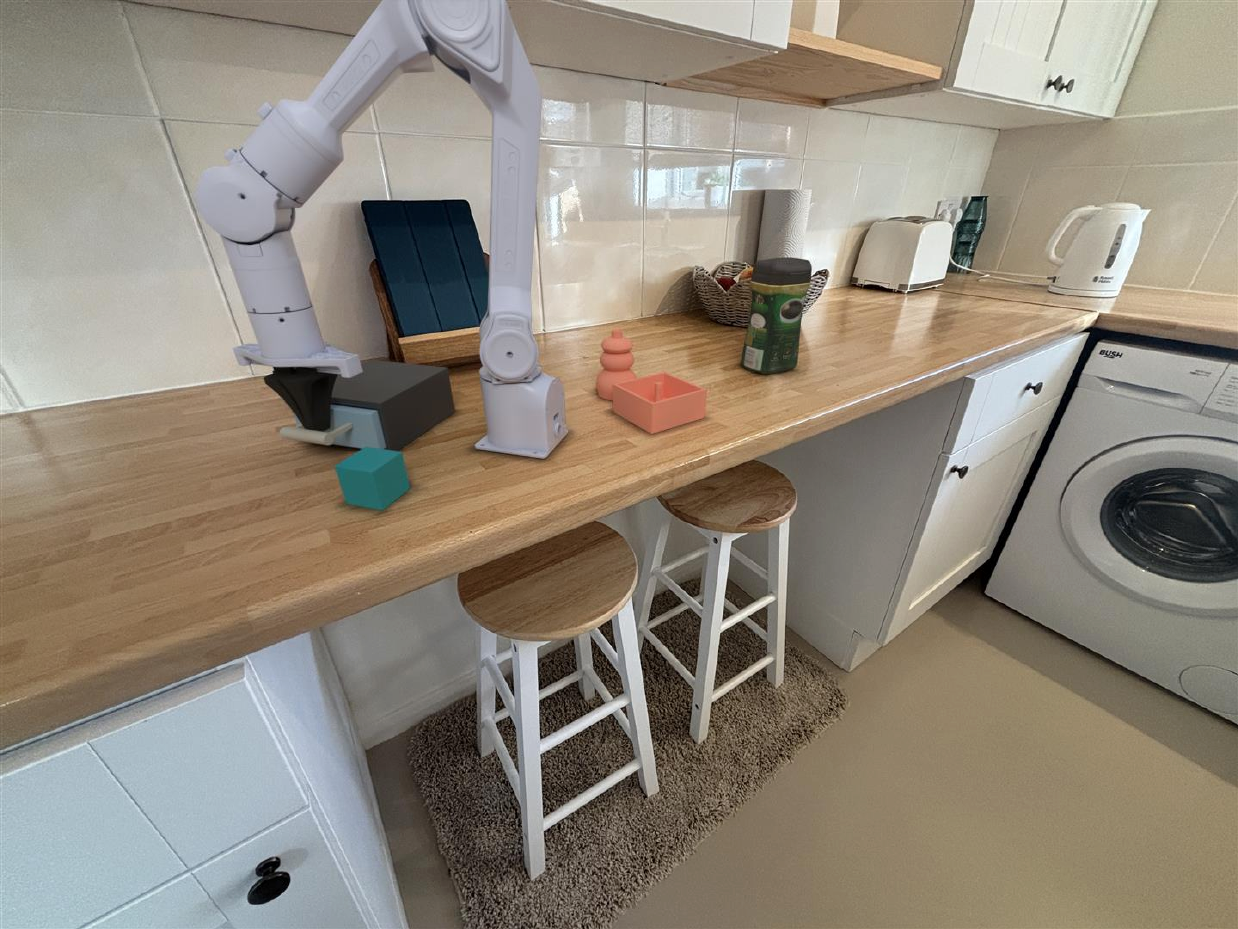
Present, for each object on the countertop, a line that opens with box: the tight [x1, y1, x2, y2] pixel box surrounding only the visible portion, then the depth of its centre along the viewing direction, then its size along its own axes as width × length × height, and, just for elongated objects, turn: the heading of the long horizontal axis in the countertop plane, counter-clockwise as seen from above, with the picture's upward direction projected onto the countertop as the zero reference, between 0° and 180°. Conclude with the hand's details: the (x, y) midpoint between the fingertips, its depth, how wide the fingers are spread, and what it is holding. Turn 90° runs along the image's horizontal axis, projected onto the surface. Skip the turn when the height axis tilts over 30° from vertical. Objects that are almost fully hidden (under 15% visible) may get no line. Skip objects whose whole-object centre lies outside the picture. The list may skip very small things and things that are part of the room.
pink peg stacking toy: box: [595, 329, 708, 435], centre depth 71 cm, size 18×10×10 cm, turn 35°
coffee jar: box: [740, 256, 813, 375], centre depth 85 cm, size 10×8×19 cm
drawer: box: [279, 403, 386, 450], centre depth 61 cm, size 17×11×5 cm
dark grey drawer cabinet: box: [330, 359, 456, 452], centre depth 65 cm, size 14×13×7 cm
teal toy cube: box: [334, 447, 411, 511], centre depth 50 cm, size 4×4×4 cm
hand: (319, 430), depth 56 cm, fingers closed, pressing on drawer
